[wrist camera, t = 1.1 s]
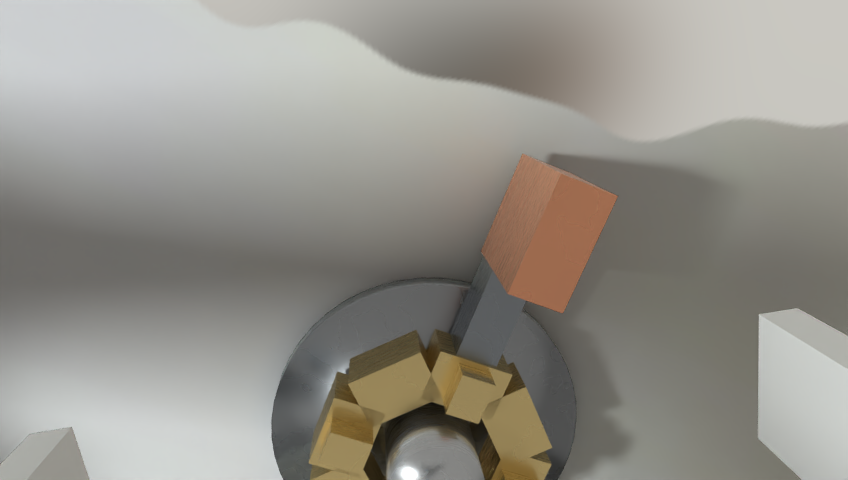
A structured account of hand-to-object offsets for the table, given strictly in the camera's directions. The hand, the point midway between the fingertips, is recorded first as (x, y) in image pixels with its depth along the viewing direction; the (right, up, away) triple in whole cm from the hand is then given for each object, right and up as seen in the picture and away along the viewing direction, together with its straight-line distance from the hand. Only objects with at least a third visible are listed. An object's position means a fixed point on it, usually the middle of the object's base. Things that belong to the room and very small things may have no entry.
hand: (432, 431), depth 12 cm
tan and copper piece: (+2, -2, +19) cm, 19 cm away
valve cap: (0, -6, +21) cm, 22 cm away
